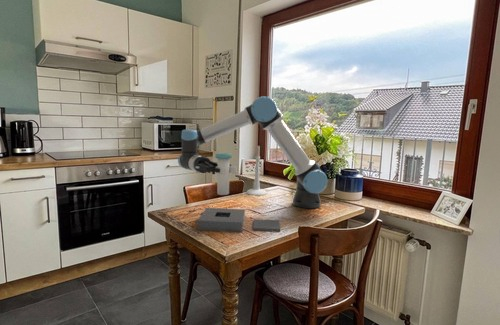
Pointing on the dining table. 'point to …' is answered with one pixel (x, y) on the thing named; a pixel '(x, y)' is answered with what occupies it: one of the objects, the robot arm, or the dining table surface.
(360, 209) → the dining table surface
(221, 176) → the teal capped tube
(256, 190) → the candlestick
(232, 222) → the block
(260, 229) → the pad
